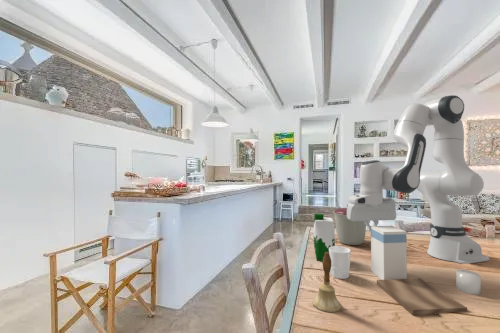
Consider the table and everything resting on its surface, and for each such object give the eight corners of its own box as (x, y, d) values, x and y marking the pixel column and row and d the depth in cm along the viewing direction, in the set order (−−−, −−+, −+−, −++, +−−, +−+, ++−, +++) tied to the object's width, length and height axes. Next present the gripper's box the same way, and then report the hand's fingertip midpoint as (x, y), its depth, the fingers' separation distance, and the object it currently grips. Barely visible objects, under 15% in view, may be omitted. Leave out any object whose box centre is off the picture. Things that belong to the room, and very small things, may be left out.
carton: (392, 270, 97) (391, 225, 97) (407, 280, 89) (406, 231, 89) (371, 271, 97) (370, 226, 97) (384, 281, 88) (383, 232, 88)
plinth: (420, 282, 87) (420, 278, 87) (467, 312, 69) (467, 307, 69) (376, 284, 87) (376, 279, 87) (412, 315, 69) (412, 309, 69)
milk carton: (313, 254, 116) (313, 212, 116) (333, 255, 114) (332, 212, 114) (314, 261, 108) (314, 216, 108) (336, 262, 106) (335, 216, 106)
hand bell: (333, 296, 79) (332, 247, 79) (346, 311, 71) (345, 256, 71) (308, 298, 78) (308, 248, 78) (319, 313, 70) (318, 258, 70)
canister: (346, 249, 122) (345, 207, 122) (326, 238, 140) (326, 202, 140) (377, 246, 126) (376, 205, 126) (354, 236, 144) (353, 200, 144)
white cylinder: (468, 286, 84) (468, 269, 84) (485, 296, 78) (485, 277, 78) (451, 287, 84) (451, 269, 84) (467, 296, 78) (467, 277, 78)
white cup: (348, 281, 89) (348, 254, 89) (326, 276, 93) (326, 250, 93) (352, 273, 95) (352, 247, 95) (331, 269, 100) (331, 244, 99)
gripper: (390, 196, 108) (390, 228, 108) (344, 197, 107) (345, 229, 107) (399, 198, 102) (399, 232, 102) (351, 199, 101) (351, 233, 101)
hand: (371, 230), depth 104 cm, fingers closed
